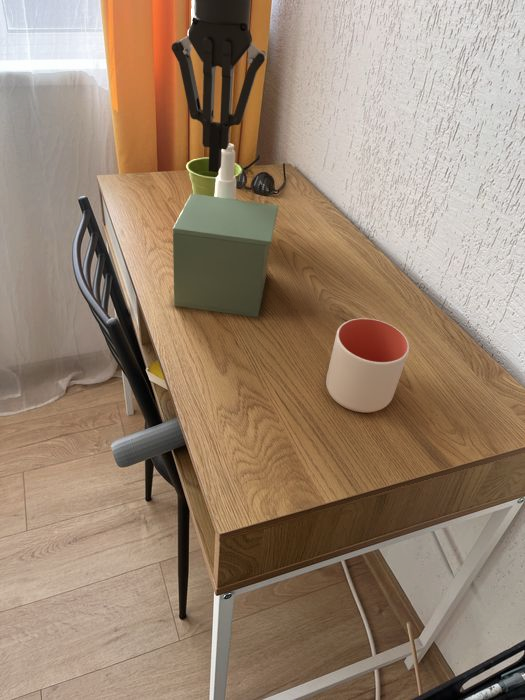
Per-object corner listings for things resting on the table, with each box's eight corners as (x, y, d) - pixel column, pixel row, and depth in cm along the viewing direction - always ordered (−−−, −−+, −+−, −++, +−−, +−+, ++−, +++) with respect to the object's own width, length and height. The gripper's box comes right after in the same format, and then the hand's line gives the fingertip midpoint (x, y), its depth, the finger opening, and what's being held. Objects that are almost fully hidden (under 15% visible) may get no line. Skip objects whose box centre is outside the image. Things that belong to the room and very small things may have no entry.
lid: (278, 209, 92) (278, 205, 91) (270, 246, 81) (271, 241, 81) (191, 197, 92) (191, 193, 92) (172, 233, 82) (172, 228, 81)
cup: (392, 377, 81) (410, 326, 75) (390, 423, 74) (409, 370, 67) (329, 363, 82) (340, 311, 76) (320, 407, 75) (332, 354, 68)
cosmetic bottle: (202, 260, 103) (204, 146, 89) (213, 246, 108) (218, 136, 94) (231, 267, 102) (238, 153, 88) (241, 253, 107) (250, 143, 93)
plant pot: (243, 228, 115) (247, 178, 108) (189, 229, 112) (189, 178, 105) (233, 204, 124) (236, 157, 117) (183, 205, 121) (183, 156, 114)
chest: (265, 276, 101) (273, 208, 92) (258, 317, 90) (265, 245, 81) (190, 266, 101) (191, 198, 92) (174, 306, 90) (172, 233, 82)
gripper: (163, -20, 64) (167, 171, 79) (270, -6, 63) (253, 183, 78) (178, -24, 70) (178, 155, 84) (275, -12, 69) (259, 165, 84)
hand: (214, 168), depth 81 cm, fingers closed
